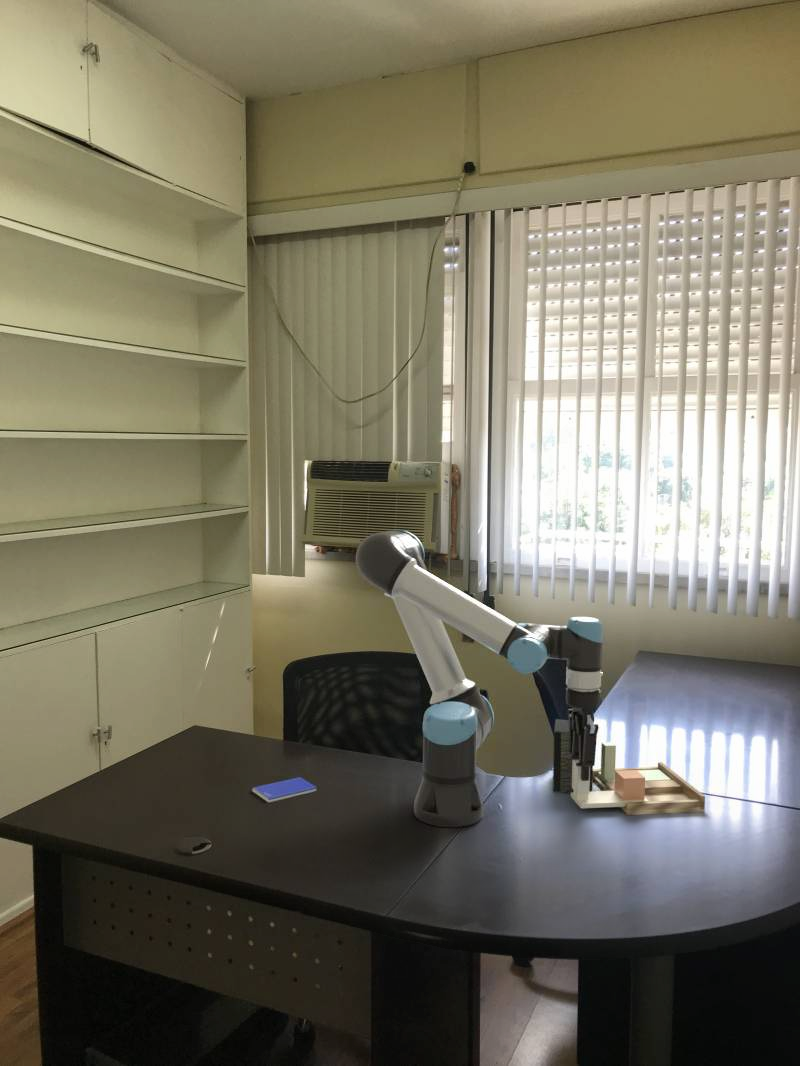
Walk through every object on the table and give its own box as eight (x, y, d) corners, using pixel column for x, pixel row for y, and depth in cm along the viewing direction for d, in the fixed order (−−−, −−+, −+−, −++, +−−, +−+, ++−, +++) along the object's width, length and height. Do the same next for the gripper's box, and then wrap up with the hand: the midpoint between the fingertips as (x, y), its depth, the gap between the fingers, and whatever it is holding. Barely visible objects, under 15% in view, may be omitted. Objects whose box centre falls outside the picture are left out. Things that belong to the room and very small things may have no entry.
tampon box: (592, 795, 199) (594, 734, 198) (552, 792, 201) (553, 731, 200) (591, 779, 210) (593, 720, 209) (553, 775, 212) (554, 717, 210)
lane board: (627, 815, 188) (627, 799, 188) (591, 778, 210) (591, 764, 209) (704, 811, 190) (705, 796, 190) (661, 776, 212) (661, 762, 212)
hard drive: (268, 798, 193) (316, 786, 200) (252, 786, 199) (299, 776, 207) (268, 804, 193) (316, 793, 200) (252, 793, 199) (299, 782, 207)
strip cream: (580, 808, 188) (581, 768, 187) (569, 796, 195) (570, 758, 194) (648, 805, 190) (649, 765, 190) (636, 793, 197) (637, 755, 196)
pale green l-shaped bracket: (607, 786, 201) (608, 748, 201) (597, 775, 208) (598, 739, 207) (671, 783, 204) (672, 746, 203) (658, 773, 210) (660, 737, 210)
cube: (623, 800, 190) (623, 778, 190) (614, 792, 195) (615, 770, 195) (644, 799, 191) (645, 777, 191) (635, 791, 196) (636, 769, 195)
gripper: (613, 696, 182) (609, 803, 184) (587, 678, 198) (584, 777, 200) (579, 697, 181) (576, 805, 183) (556, 679, 197) (553, 778, 199)
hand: (580, 790), depth 191 cm, fingers closed on strip cream, 2 cm apart
